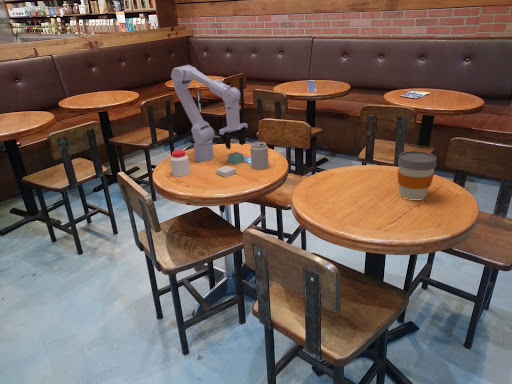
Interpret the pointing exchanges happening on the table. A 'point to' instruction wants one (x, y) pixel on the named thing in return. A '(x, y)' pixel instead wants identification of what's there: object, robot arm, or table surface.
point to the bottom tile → (224, 177)
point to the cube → (235, 158)
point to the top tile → (226, 171)
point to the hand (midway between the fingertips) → (235, 146)
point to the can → (259, 156)
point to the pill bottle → (179, 163)
